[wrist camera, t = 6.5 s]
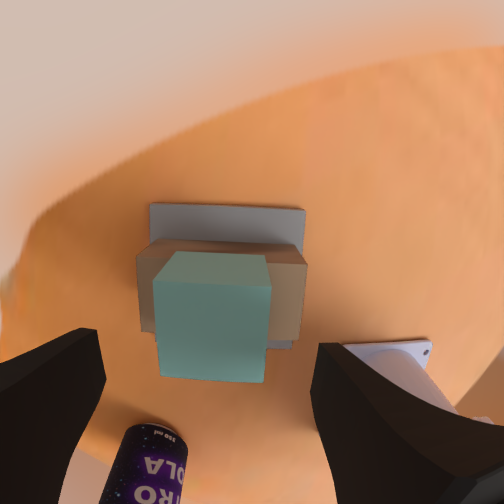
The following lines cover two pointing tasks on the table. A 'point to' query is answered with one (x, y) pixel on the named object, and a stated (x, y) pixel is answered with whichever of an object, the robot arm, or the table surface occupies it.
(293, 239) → the plate
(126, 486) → the beverage can
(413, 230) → the table surface
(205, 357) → the cube
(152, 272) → the walnut brick
